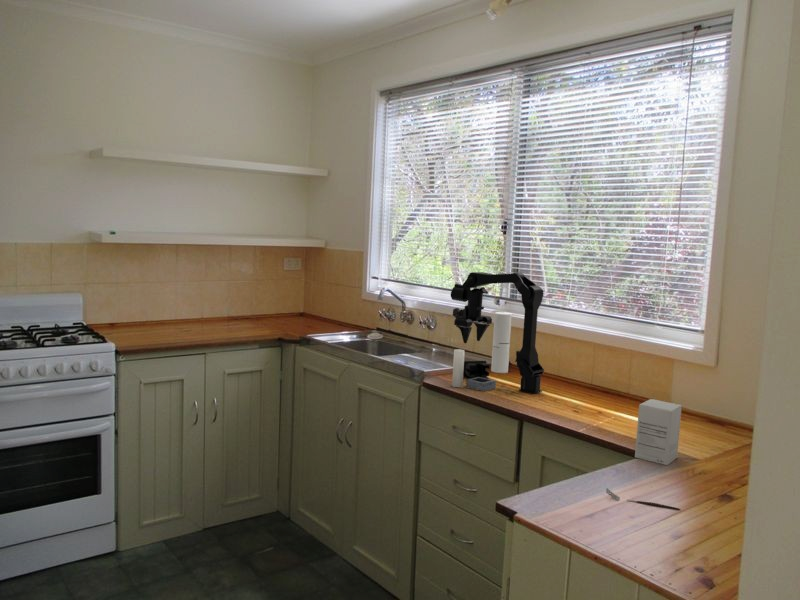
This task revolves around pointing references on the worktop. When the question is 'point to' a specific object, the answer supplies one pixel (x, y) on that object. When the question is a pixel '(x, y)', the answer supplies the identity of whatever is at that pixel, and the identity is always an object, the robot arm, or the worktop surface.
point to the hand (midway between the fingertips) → (471, 342)
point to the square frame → (481, 383)
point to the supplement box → (658, 431)
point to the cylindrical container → (501, 342)
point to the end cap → (475, 369)
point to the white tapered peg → (458, 368)
